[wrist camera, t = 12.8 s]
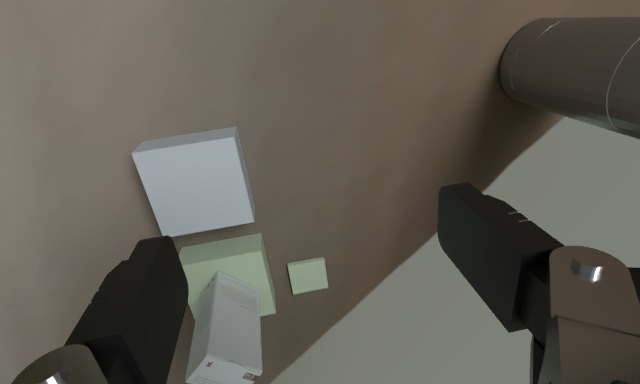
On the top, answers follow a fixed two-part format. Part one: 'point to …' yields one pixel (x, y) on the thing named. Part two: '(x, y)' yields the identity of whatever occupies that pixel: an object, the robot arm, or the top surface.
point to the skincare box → (226, 334)
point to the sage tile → (308, 275)
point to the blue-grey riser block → (196, 181)
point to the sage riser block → (229, 268)
